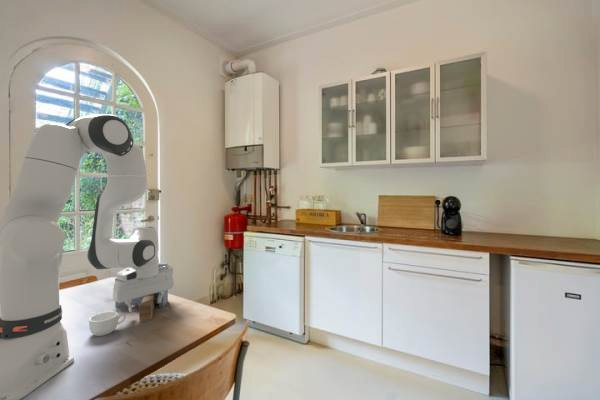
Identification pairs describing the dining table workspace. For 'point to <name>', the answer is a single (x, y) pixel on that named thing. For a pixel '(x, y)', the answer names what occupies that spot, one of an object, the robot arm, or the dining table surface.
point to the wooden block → (147, 308)
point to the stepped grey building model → (139, 300)
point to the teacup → (104, 322)
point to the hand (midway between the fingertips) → (145, 306)
